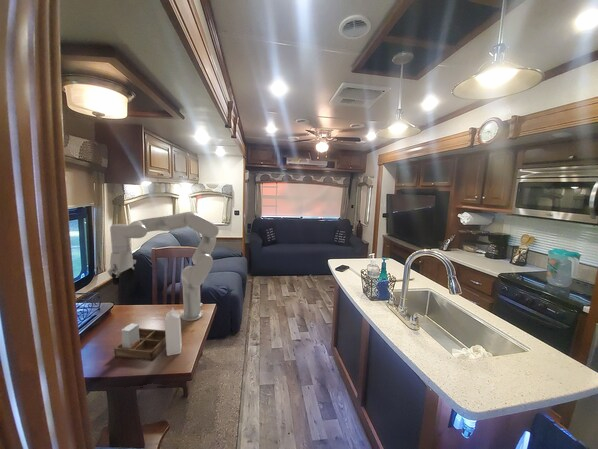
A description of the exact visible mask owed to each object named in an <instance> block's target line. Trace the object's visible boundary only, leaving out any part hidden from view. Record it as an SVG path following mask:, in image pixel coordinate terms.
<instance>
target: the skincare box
mask: <svg viewBox="0 0 598 449" xmlns="http://www.w3.org/2000/svg"><path fill="white" fill-rule="evenodd" d="M139 326H140V324H137V323H130V324H128V325H126V326H125V327H123V328H122V329H120V331H121V343H122V348H126V349H134V348H135V347H136V346H137V345H138V344H140V339H139V328H140V327H139Z"/></svg>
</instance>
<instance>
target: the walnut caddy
mask: <svg viewBox="0 0 598 449" xmlns="http://www.w3.org/2000/svg"><path fill="white" fill-rule="evenodd" d="M139 339H140V344H138V345H137V346H136V347H135V348H134V349H126V348H122V342H120V343H119V344H118V345H117V346H115V347H114V348H113V353H114V358H117V359H118V358H119V359H131V360H140V361H148V362H153V361H154V360H155V359H156V358H157V357H158V356H159V355H160V353H161V352H162V351H163V350H164V349H166V334H165V329H164V330H163V329H155V328H154V329H153V328H150V329H149V328H142V327H139Z"/></svg>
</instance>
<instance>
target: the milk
mask: <svg viewBox="0 0 598 449" xmlns="http://www.w3.org/2000/svg"><path fill="white" fill-rule="evenodd" d="M181 321H182V319H181V311H179V310H177V309H174V307H172V309H171V310H170V311H168V312H166V314H165V318H164V330H165V334H166V347H165V350H166V356H175V355H181V352H182V346H183V345H182V342H183V341H182V324H181Z"/></svg>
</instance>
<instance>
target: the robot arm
mask: <svg viewBox="0 0 598 449" xmlns="http://www.w3.org/2000/svg"><path fill="white" fill-rule="evenodd" d="M186 228H190V229H192V230H193V231H194V232H197V233H199V235H201V240H200V242H199V244H198V246H197V247H196V249H195V251H194V253H193V255H192V256H191V261H192V263H193V265H187V266H185V267H184V268H183V269H182V271H181V284H182V301H183V312H182V313H181V314H180V319H181V321H185V322H193V321H197V320H200V319H201V318H203V316H204V310H202V309H201V308H202V307H203V305H204V304H203V303H202V302H201V286H202V285H203V283H204V281H205V280H206V278H207V276H208V275H209V273H210V271H211V269H212V267H213V264H214V258H213V256H211V255H212V253H213V250H214V249H215V246H216V244H217V236H218V235H219V231H220V229H219V227H218V225H217V224H215V223H213V222H211V221H210V220H208V219H206V218H204V217H202V216H201V215H199V214H198V213H196V212H193V211H186V212H180V213H175V214H169V215H164V216H163V215H162V216H157V217H150V218H144V219H138V220H134V221H132V222H131V223H129V224H127V223H126V224H125V223H114V224H112V225H111V226H110V228H109V230H110V231H109V232H110V240H111V250H112V252H111V253H110V264H109V266H110V268H109V269H108V270H107V274H108V275H109V276H110V277H111V278H112V284H113V285H116V286H117V285H118V286H119V285H121V281H120V273H123V272H125V271H127V277H128V278H134V277H135V267H136V265H137V259H135V258H134V257H133V252H132V249H131V241H130V239H142V238H145V237H146V236H147V235H148V233H150V232H157V231H161V232H172V231H175V230H181V229H186ZM133 258H134V259H133Z"/></svg>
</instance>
